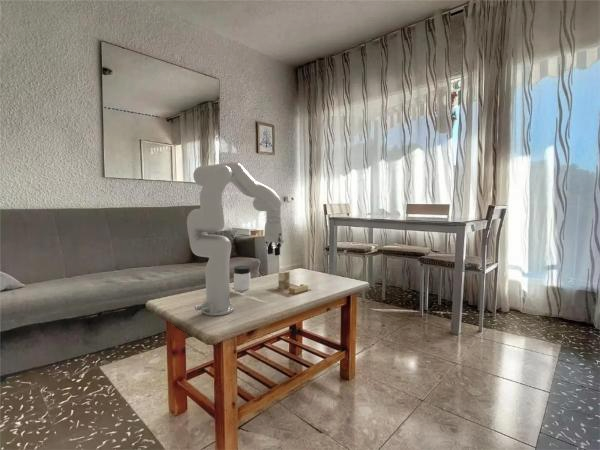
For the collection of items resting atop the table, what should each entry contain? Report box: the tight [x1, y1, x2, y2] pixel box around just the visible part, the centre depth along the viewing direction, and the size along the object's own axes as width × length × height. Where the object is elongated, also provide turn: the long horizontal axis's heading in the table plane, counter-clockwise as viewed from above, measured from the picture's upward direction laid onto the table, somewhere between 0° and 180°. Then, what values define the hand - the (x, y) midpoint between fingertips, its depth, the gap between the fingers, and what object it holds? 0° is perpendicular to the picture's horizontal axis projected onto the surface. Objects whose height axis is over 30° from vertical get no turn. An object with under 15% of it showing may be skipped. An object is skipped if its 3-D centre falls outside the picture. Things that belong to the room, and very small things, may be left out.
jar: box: [233, 265, 252, 294], centre depth 158 cm, size 9×8×12 cm
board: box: [265, 283, 313, 298], centre depth 155 cm, size 17×17×1 cm
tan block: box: [278, 270, 291, 289], centre depth 160 cm, size 4×4×8 cm
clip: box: [289, 283, 309, 294], centre depth 152 cm, size 9×4×2 cm, turn 134°
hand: (273, 254), depth 164 cm, fingers open, 5 cm apart
